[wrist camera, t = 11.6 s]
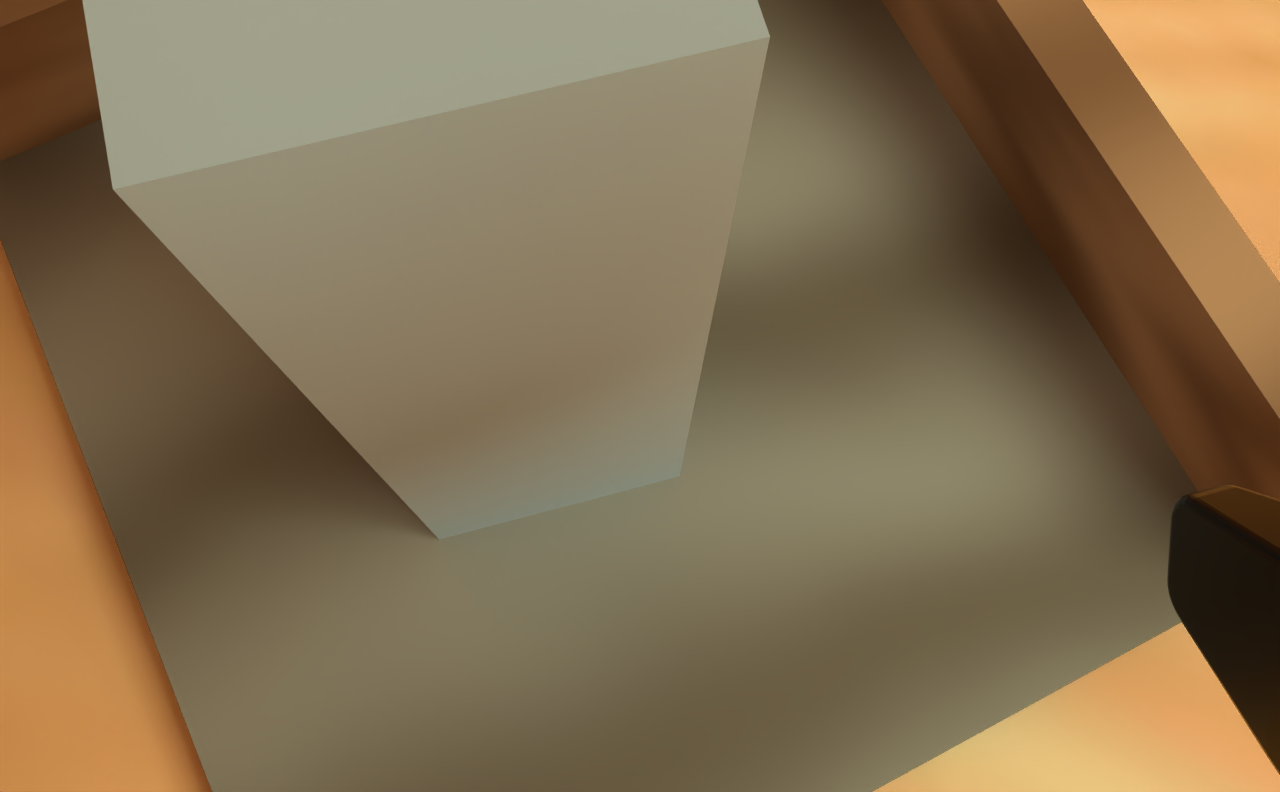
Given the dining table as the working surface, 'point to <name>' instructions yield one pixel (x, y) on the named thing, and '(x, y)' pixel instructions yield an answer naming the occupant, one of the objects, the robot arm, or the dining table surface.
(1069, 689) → the dining table surface
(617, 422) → the slate block
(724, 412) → the tray
